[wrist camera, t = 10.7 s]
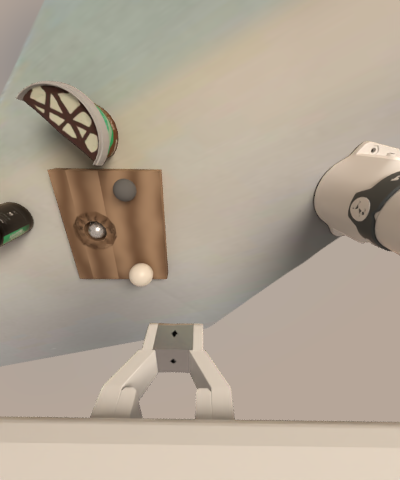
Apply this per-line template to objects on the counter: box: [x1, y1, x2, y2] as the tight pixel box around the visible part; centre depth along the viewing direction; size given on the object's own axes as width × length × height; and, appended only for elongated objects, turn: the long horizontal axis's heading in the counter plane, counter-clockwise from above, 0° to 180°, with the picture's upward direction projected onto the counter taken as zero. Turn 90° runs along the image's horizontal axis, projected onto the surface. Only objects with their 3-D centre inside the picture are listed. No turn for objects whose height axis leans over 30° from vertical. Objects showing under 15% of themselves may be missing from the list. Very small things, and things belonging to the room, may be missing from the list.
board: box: [48, 168, 168, 279], centre depth 44 cm, size 20×24×2 cm
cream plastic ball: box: [129, 263, 153, 287], centre depth 44 cm, size 5×5×5 cm
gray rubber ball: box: [113, 179, 137, 202], centre depth 37 cm, size 4×4×4 cm
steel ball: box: [88, 222, 106, 238], centre depth 43 cm, size 4×4×4 cm
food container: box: [16, 81, 118, 166], centre depth 31 cm, size 12×6×10 cm, turn 45°
